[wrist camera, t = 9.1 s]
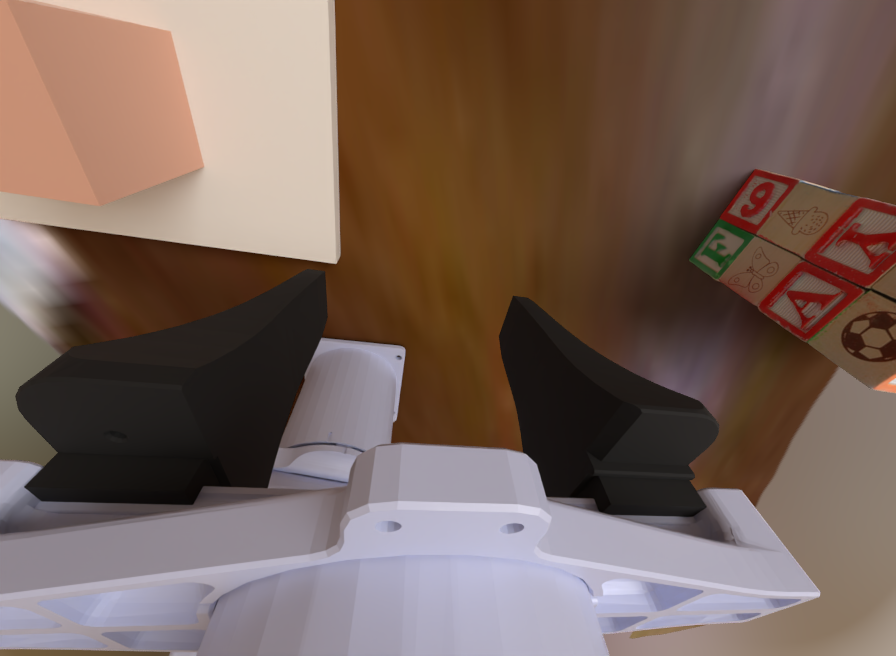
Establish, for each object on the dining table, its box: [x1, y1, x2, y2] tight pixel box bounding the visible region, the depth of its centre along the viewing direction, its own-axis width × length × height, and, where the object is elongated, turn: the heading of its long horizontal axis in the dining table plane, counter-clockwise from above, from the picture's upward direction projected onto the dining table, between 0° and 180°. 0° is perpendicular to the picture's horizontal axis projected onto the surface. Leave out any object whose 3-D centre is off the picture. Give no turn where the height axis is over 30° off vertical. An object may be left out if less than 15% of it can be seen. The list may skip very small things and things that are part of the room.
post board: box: [0, 0, 340, 264], centre depth 13 cm, size 14×18×7 cm
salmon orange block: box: [0, 0, 204, 206], centre depth 12 cm, size 5×5×7 cm
